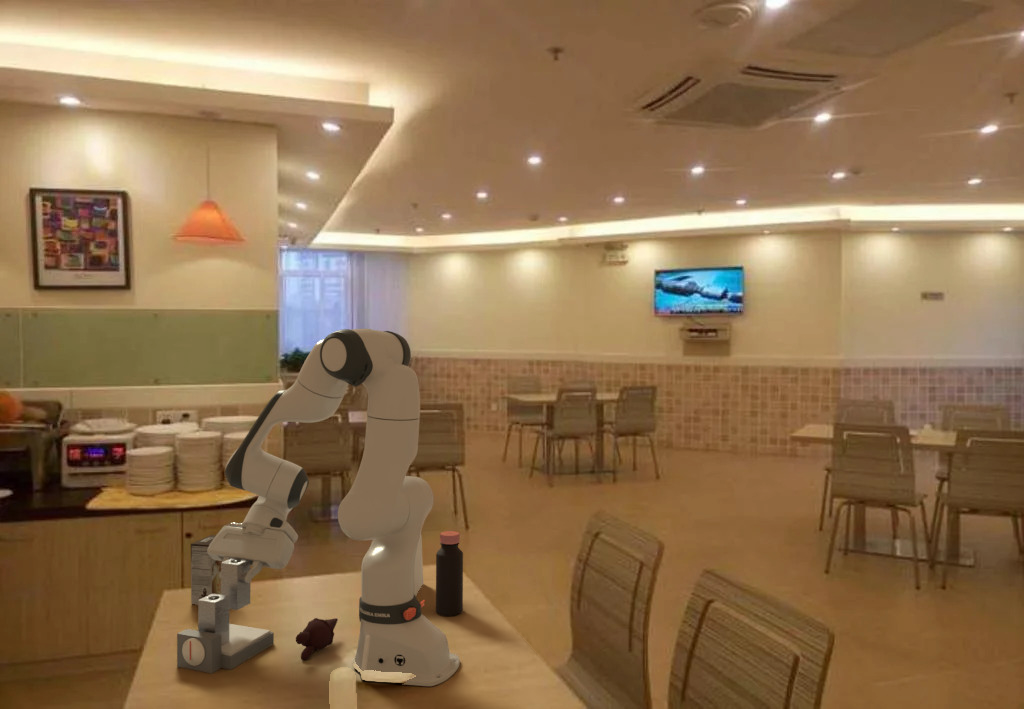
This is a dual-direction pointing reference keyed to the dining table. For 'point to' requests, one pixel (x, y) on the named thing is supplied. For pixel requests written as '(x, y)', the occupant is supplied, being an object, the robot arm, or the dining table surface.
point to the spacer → (235, 582)
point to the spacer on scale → (214, 615)
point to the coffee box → (204, 571)
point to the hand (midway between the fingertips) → (233, 580)
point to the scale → (220, 647)
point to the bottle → (449, 575)
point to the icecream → (316, 636)
